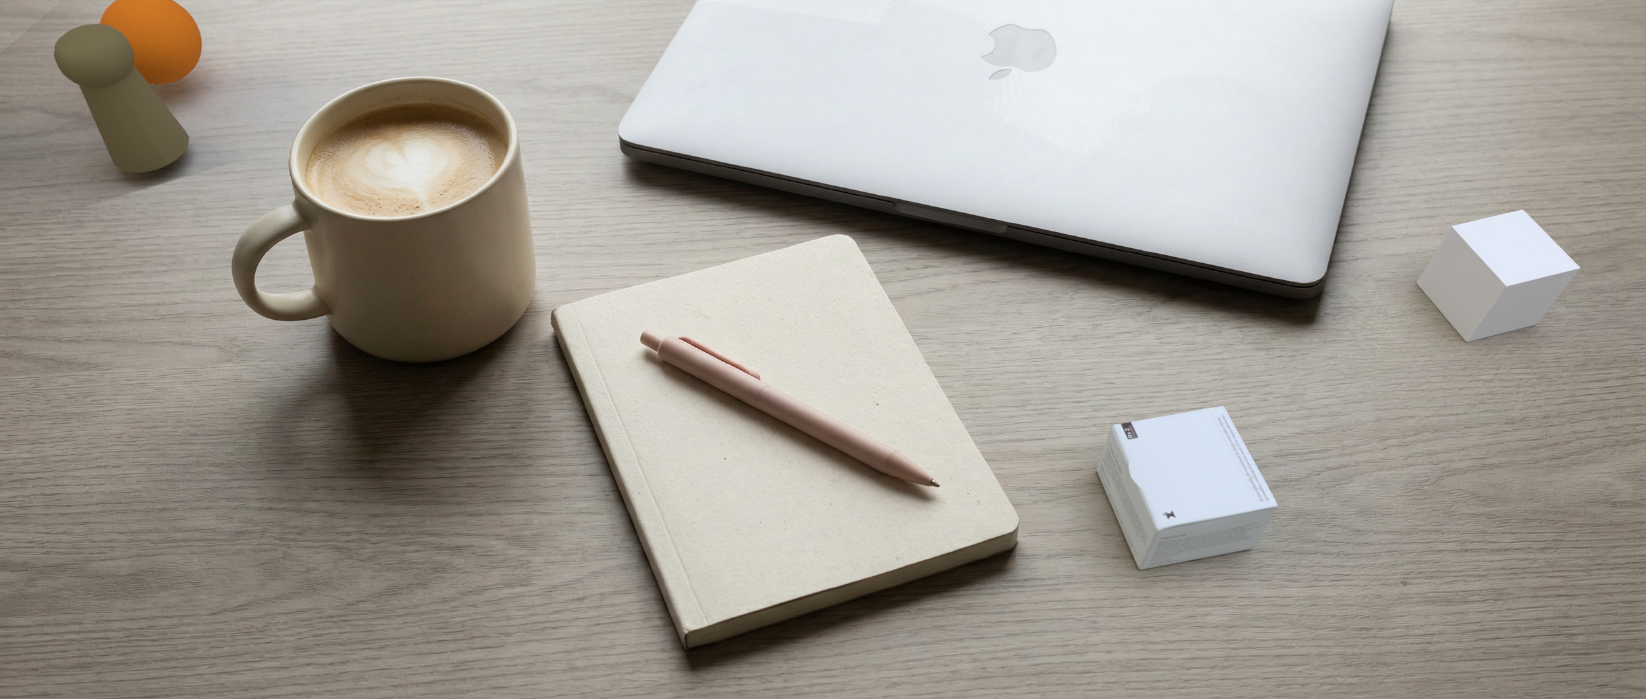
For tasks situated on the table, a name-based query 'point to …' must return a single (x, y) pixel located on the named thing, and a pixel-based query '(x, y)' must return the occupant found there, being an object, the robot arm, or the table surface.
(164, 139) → the olive pawn
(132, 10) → the orange
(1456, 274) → the white cube
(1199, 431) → the small box
